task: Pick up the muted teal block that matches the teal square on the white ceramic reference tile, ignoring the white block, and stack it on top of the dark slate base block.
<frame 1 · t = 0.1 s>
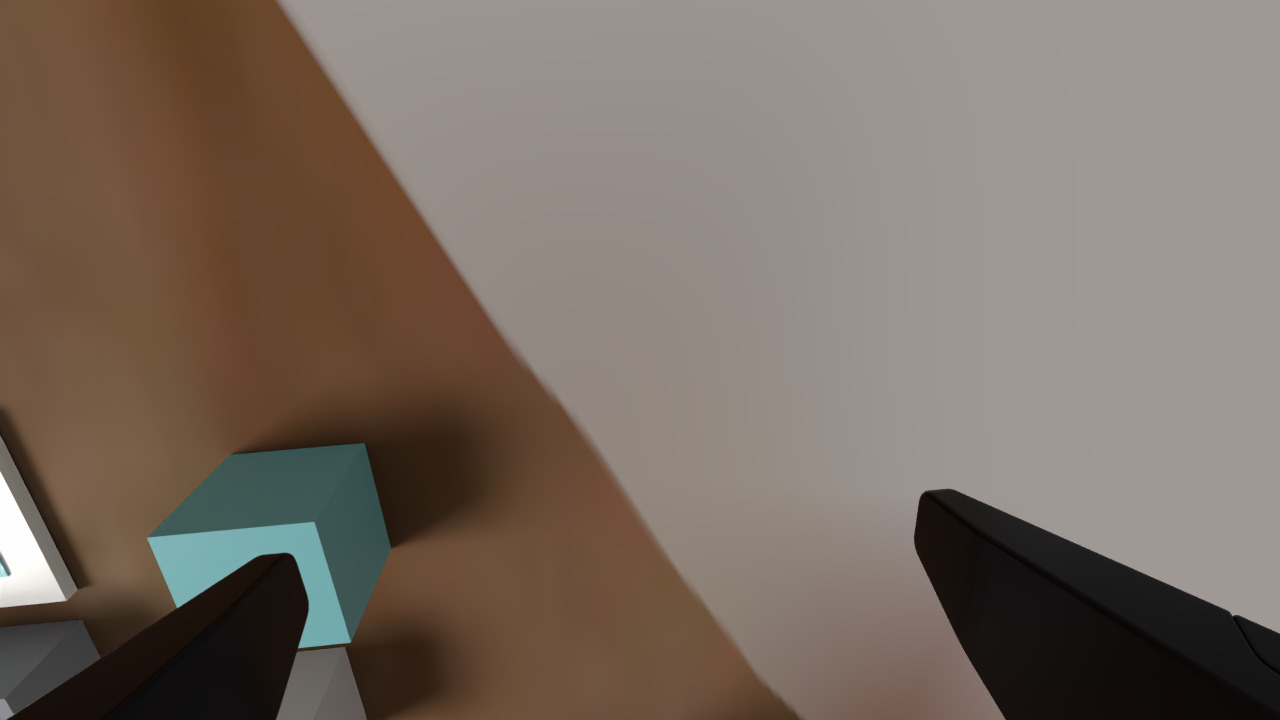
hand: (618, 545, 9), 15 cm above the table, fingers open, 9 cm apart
teal block: (314, 502, 25), on the table
white block: (301, 692, 29), on the table
slate base block: (31, 685, 27), on the table
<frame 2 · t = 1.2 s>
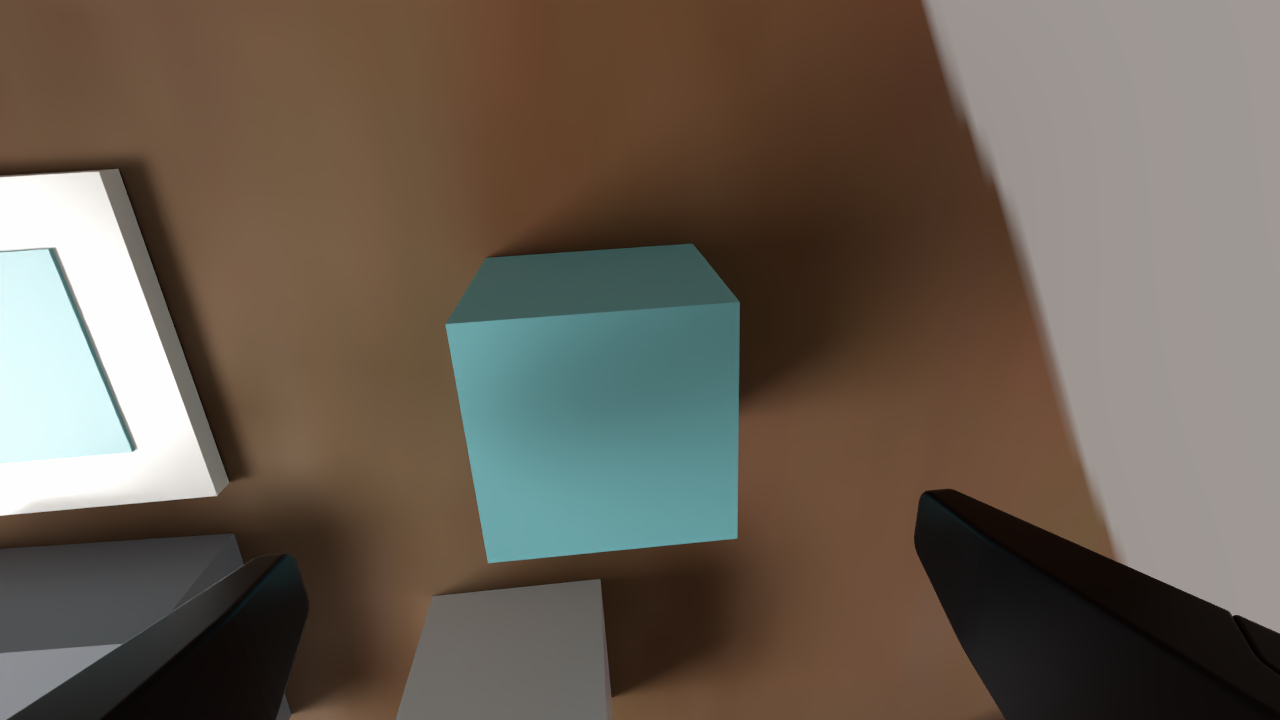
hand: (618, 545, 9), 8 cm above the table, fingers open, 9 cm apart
teal block: (598, 345, 16), on the table
reference tile: (3, 354, 15), on the table
white block: (527, 647, 20), on the table
slate base block: (144, 633, 19), on the table
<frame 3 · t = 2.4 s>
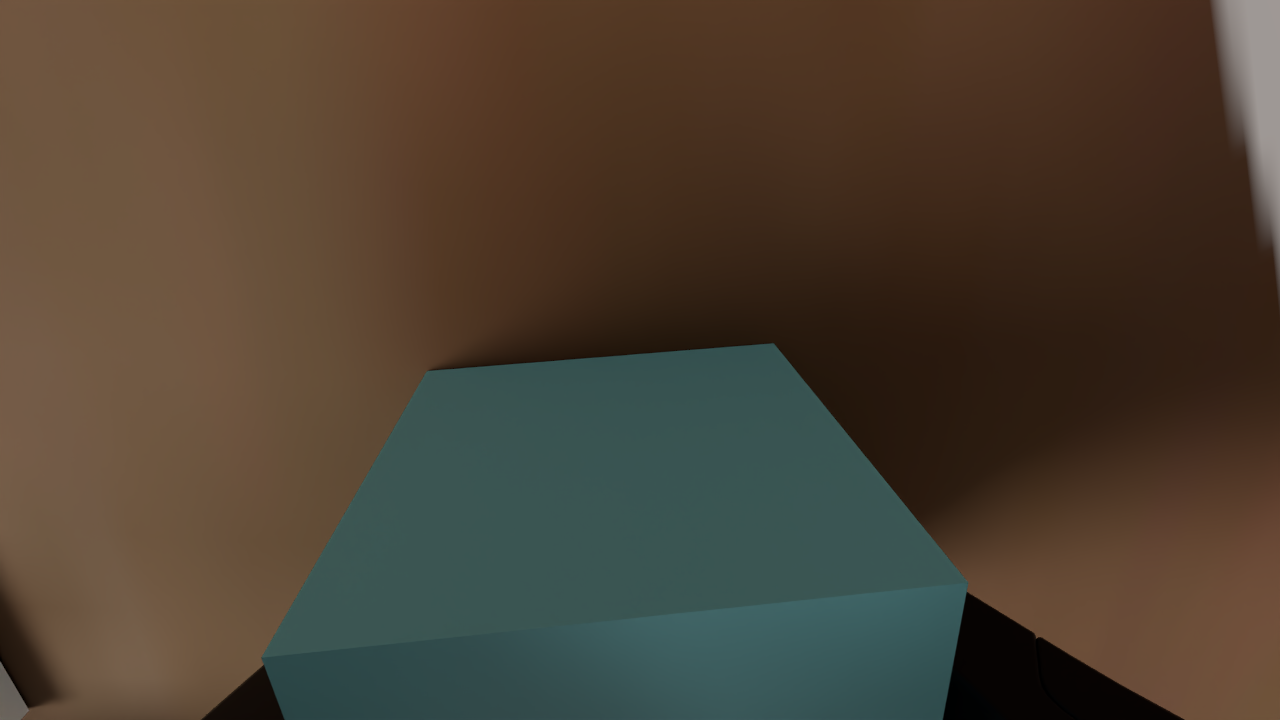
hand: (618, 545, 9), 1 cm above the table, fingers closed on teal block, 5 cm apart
teal block: (614, 502, 10), on the table, touching gripper
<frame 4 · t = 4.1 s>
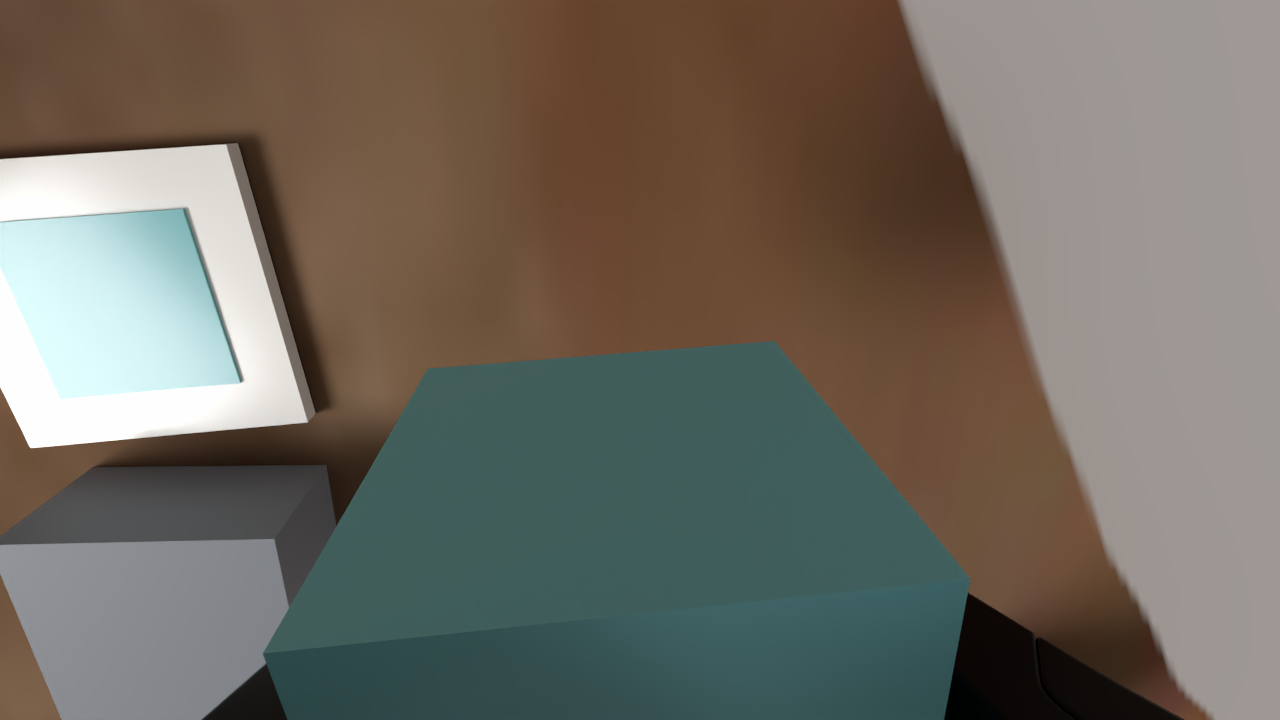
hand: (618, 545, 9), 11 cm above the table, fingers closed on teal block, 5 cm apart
teal block: (615, 500, 10), point 10 cm above the table, touching gripper
reference tile: (135, 301, 18), on the table
slate base block: (236, 550, 22), on the table
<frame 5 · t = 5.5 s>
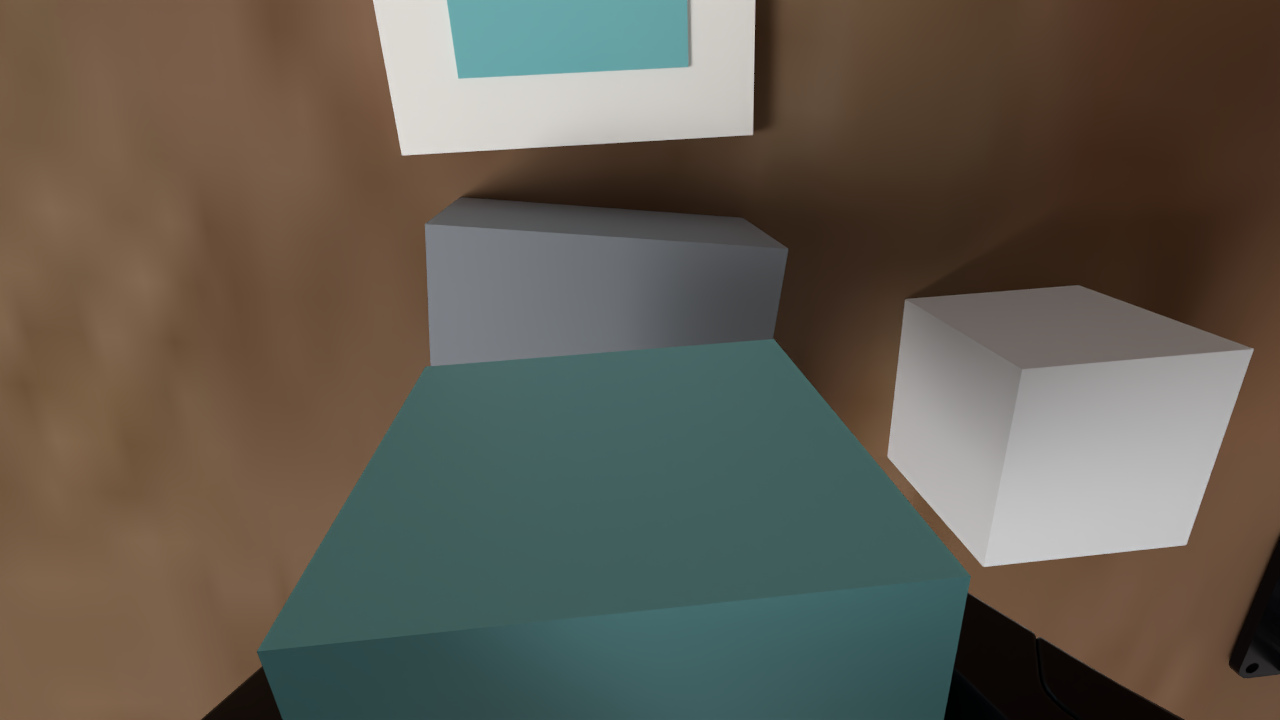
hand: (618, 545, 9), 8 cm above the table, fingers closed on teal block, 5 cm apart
teal block: (614, 499, 10), point 7 cm above the table, touching gripper
white block: (977, 373, 18), on the table
slate base block: (596, 337, 17), on the table
when the fingers open (6 cm above the table, at t = 6.2 s): teal block drops 1 cm, resting on slate base block.
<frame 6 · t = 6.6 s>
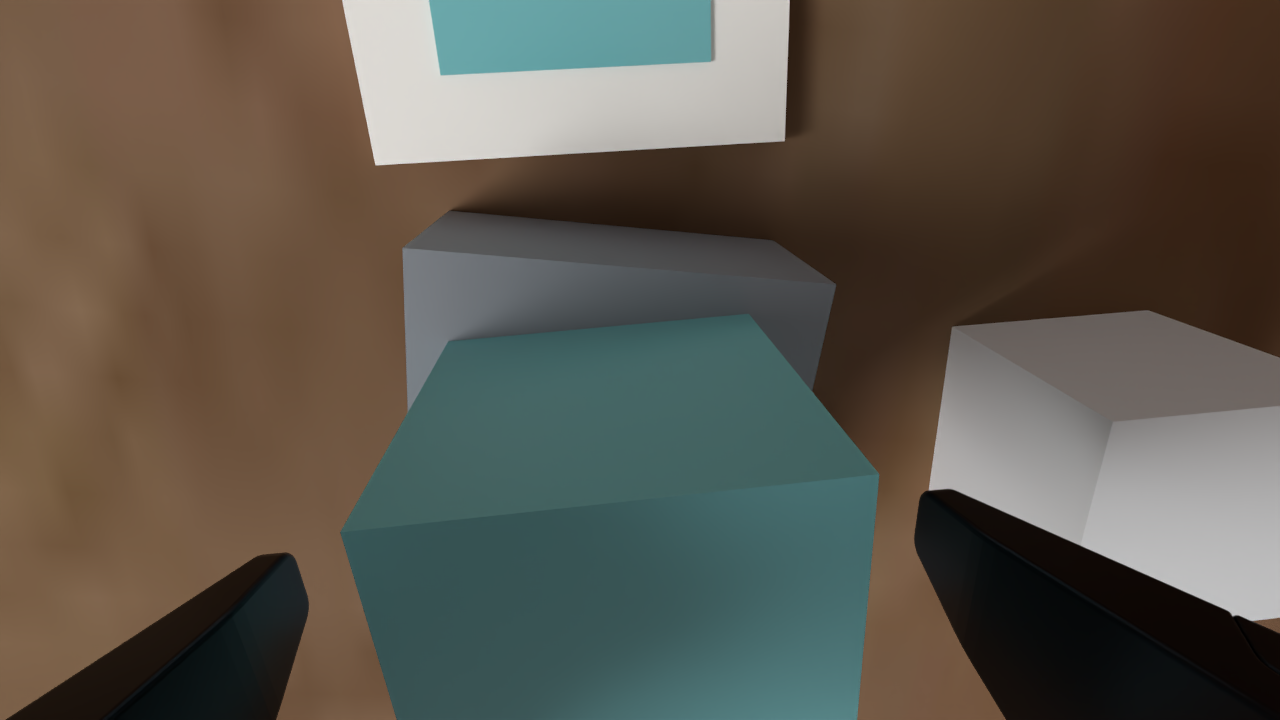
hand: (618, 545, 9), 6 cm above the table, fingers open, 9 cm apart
teal block: (612, 457, 11), point 4 cm above the table, touching slate base block
white block: (1030, 408, 16), on the table
slate base block: (602, 370, 15), on the table, touching teal block
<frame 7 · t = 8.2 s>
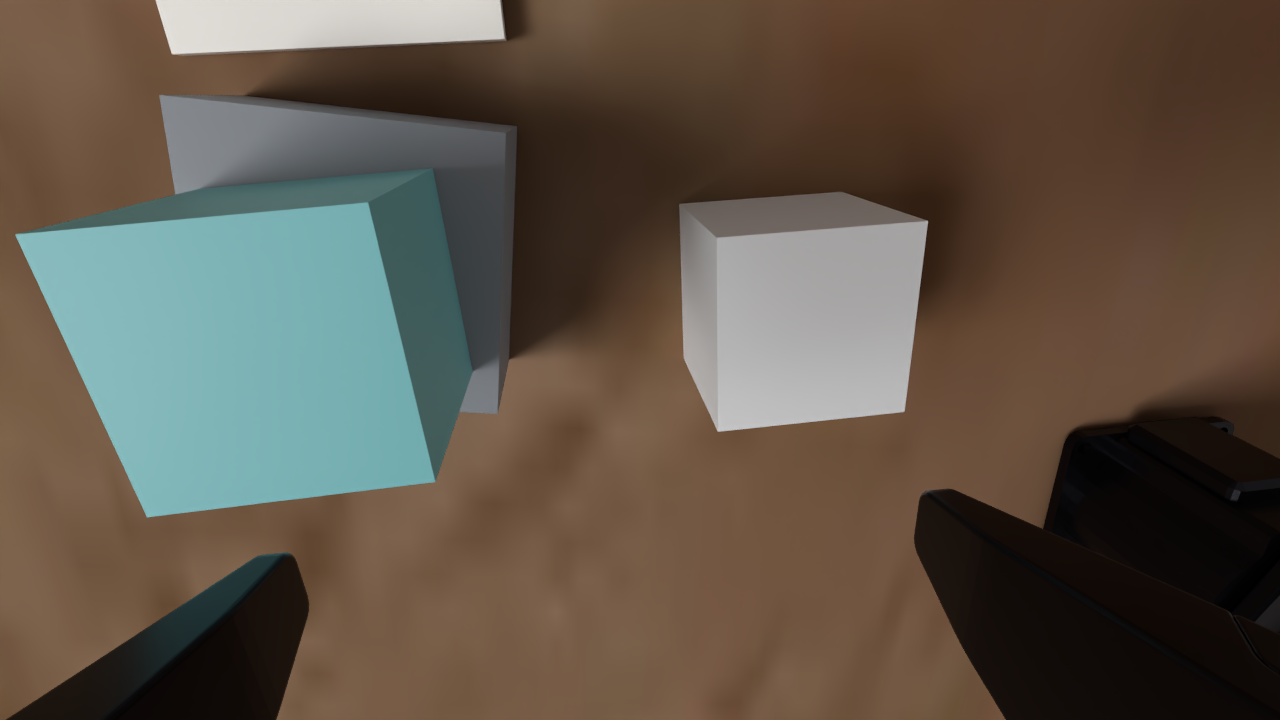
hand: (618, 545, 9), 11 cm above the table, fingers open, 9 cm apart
teal block: (347, 287, 15), point 4 cm above the table, touching slate base block
white block: (758, 277, 20), on the table
slate base block: (392, 238, 18), on the table, touching teal block
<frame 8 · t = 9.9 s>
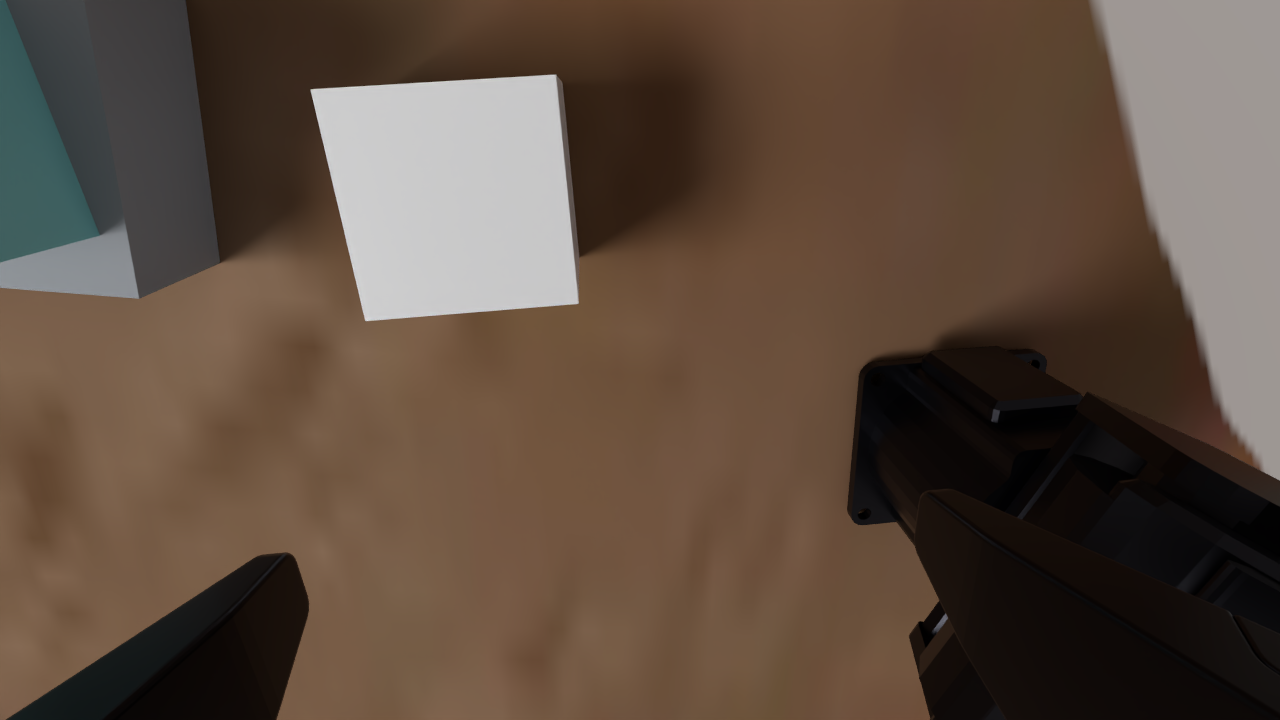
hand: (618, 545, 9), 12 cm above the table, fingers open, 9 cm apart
white block: (486, 179, 19), on the table
slate base block: (72, 123, 17), on the table, touching teal block
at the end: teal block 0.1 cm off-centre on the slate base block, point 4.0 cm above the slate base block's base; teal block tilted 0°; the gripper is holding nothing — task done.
